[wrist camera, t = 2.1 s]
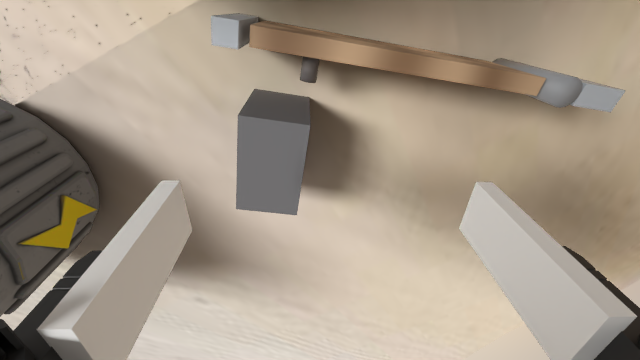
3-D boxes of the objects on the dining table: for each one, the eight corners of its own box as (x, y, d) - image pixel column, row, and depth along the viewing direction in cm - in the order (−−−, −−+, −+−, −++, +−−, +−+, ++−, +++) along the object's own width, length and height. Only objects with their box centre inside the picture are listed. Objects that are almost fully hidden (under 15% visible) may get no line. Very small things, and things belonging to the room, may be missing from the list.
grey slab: (238, 37, 24) (211, 49, 17) (239, 9, 23) (210, 10, 16) (531, 88, 27) (608, 115, 20) (542, 65, 26) (628, 86, 19)
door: (262, 62, 24) (248, 80, 18) (264, 20, 23) (250, 24, 17) (473, 97, 27) (521, 123, 21) (488, 61, 25) (546, 78, 19)
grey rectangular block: (251, 165, 30) (236, 208, 24) (254, 88, 26) (237, 115, 19) (298, 171, 31) (296, 215, 24) (309, 97, 26) (310, 125, 20)
